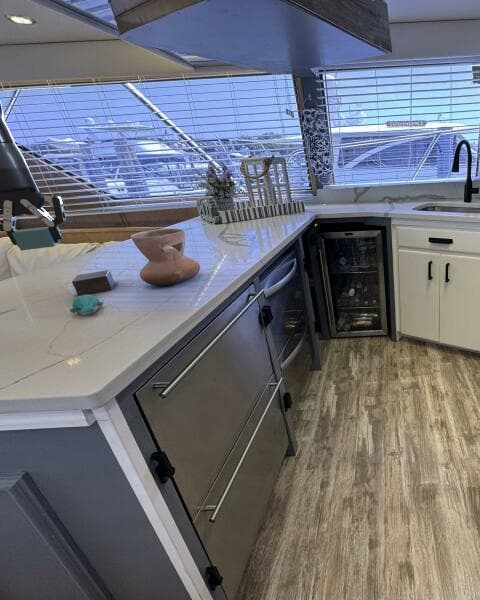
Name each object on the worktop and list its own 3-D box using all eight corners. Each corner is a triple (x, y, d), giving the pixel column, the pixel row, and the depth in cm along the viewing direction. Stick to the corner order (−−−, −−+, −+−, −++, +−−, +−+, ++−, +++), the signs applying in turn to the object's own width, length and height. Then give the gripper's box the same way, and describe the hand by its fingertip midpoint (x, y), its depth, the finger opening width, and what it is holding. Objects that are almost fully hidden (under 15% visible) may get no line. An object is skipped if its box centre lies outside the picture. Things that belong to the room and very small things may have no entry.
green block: (20, 250, 72) (11, 232, 70) (29, 246, 76) (20, 229, 75) (54, 246, 75) (46, 229, 73) (60, 242, 79) (52, 226, 77)
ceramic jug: (210, 280, 92) (195, 231, 87) (149, 295, 83) (129, 241, 78) (193, 268, 104) (180, 224, 99) (139, 280, 95) (120, 232, 90)
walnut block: (78, 295, 85) (71, 281, 83) (83, 288, 90) (77, 275, 89) (112, 289, 88) (106, 275, 87) (114, 282, 94) (109, 269, 92)
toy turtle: (105, 304, 79) (98, 289, 77) (106, 312, 74) (99, 297, 72) (72, 311, 75) (65, 296, 74) (72, 321, 70) (64, 305, 69)
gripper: (53, 165, 75) (84, 237, 82) (-40, 168, 68) (2, 246, 75) (43, 165, 69) (77, 242, 76) (-59, 168, 62) (-12, 253, 69)
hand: (40, 244), depth 75 cm, fingers closed on green block, 5 cm apart
